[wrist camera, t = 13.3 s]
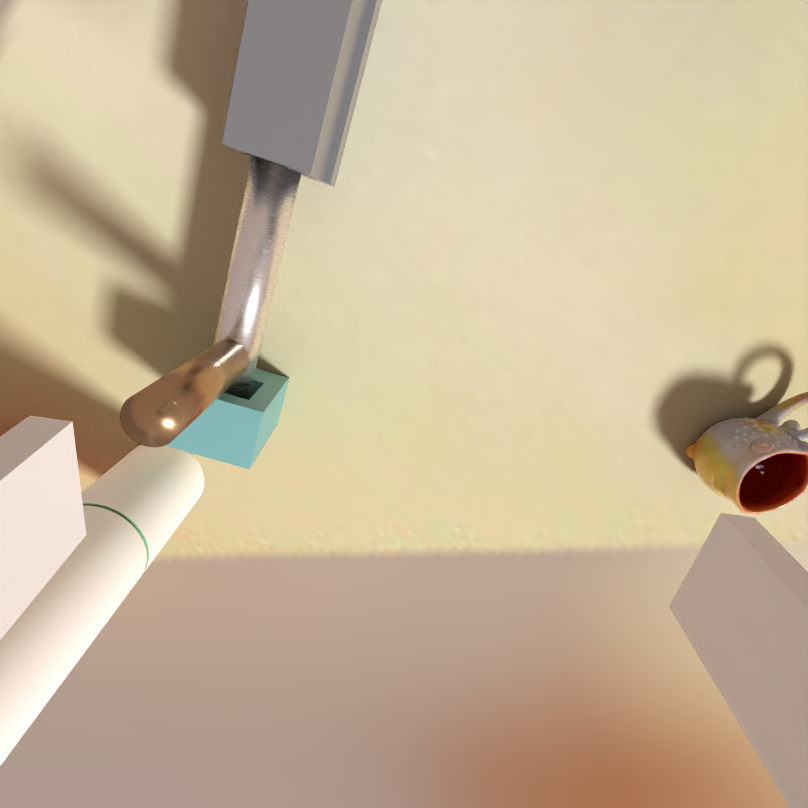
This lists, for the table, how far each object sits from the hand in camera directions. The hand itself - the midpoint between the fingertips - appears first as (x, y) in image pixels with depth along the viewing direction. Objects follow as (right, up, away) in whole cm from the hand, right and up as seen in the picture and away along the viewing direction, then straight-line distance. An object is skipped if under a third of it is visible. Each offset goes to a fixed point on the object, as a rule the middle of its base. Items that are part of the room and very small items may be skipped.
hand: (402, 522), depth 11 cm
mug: (+30, 0, +35) cm, 46 cm away
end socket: (-14, +4, +33) cm, 36 cm away
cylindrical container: (-22, -4, +36) cm, 42 cm away
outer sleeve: (-6, +26, +25) cm, 36 cm away
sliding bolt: (-11, +10, +27) cm, 31 cm away
